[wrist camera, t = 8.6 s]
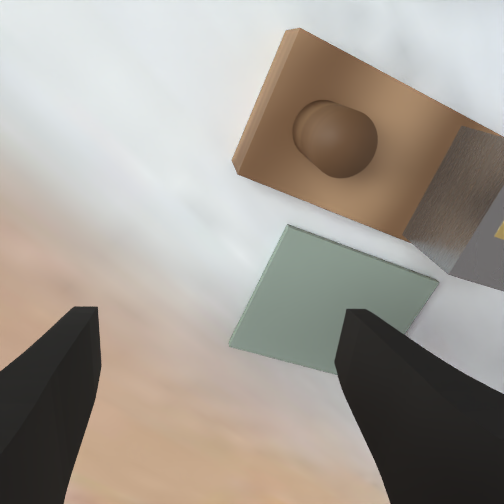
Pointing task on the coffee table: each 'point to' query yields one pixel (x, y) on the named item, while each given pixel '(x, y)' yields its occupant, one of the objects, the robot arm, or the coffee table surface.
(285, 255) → the mat
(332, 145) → the plane body
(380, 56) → the coffee table surface
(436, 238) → the grey rectangular block
